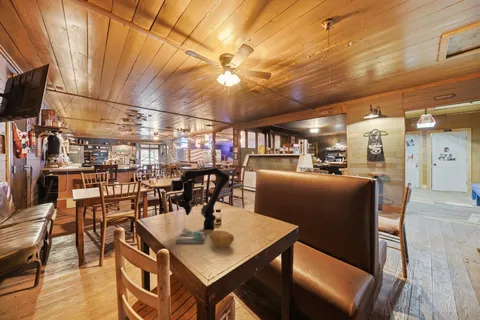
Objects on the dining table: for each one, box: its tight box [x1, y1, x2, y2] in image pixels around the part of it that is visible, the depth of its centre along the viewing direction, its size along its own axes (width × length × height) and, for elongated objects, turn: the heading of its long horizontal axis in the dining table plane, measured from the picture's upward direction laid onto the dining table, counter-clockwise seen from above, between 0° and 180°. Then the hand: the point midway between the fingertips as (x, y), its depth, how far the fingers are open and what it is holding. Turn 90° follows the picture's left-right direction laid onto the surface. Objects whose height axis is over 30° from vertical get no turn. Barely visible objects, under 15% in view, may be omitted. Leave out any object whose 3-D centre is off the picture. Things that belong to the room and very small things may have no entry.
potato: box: [209, 230, 235, 249], centre depth 102 cm, size 10×14×8 cm
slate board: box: [174, 233, 208, 245], centre depth 109 cm, size 16×11×2 cm
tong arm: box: [181, 227, 206, 237], centre depth 110 cm, size 16×2×2 cm, turn 66°
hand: (188, 214), depth 118 cm, fingers open, 4 cm apart
